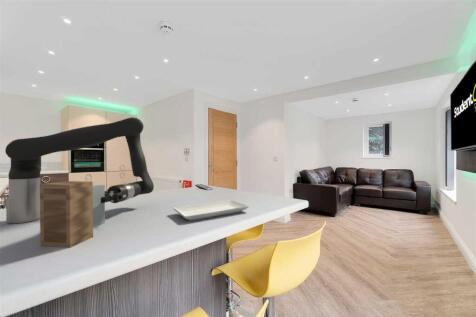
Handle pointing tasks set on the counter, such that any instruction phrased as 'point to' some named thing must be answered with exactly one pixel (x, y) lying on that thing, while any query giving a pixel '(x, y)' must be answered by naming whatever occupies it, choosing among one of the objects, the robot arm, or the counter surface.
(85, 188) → the cabinet
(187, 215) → the tray
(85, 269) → the counter surface
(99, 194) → the door
